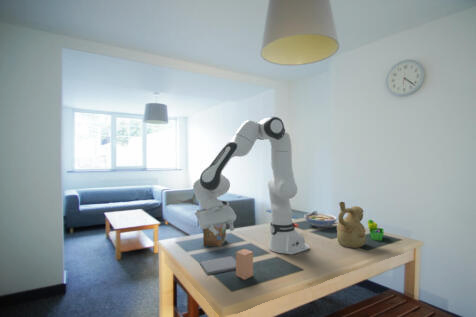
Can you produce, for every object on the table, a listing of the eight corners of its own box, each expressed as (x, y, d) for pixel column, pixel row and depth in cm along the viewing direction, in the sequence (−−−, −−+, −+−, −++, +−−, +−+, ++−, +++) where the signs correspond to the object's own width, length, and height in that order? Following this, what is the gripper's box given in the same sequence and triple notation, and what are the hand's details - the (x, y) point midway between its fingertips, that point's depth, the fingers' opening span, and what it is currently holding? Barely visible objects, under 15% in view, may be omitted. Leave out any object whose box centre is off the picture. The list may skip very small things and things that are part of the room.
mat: (231, 258, 122) (231, 256, 122) (241, 268, 112) (241, 265, 112) (199, 263, 116) (199, 261, 116) (207, 274, 105) (207, 272, 105)
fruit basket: (384, 241, 147) (384, 222, 147) (367, 239, 152) (367, 221, 152) (383, 236, 157) (383, 218, 157) (367, 234, 162) (367, 217, 162)
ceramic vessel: (374, 245, 141) (374, 201, 141) (352, 252, 131) (352, 204, 131) (347, 237, 155) (347, 197, 155) (326, 242, 145) (326, 200, 145)
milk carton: (221, 246, 139) (221, 212, 139) (203, 245, 141) (203, 211, 141) (226, 240, 149) (226, 208, 149) (209, 239, 152) (209, 208, 152)
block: (244, 271, 108) (244, 248, 108) (252, 275, 104) (252, 251, 104) (236, 275, 104) (236, 251, 104) (244, 279, 101) (244, 255, 101)
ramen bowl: (332, 233, 163) (332, 221, 163) (299, 228, 176) (299, 216, 176) (340, 225, 184) (340, 214, 184) (309, 220, 197) (309, 210, 197)
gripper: (196, 206, 111) (209, 233, 104) (230, 201, 126) (244, 224, 119) (191, 214, 115) (203, 241, 108) (224, 208, 129) (237, 231, 122)
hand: (225, 232), depth 113 cm, fingers open, 8 cm apart
